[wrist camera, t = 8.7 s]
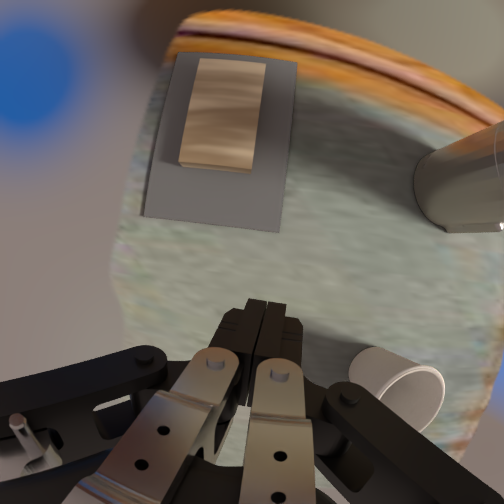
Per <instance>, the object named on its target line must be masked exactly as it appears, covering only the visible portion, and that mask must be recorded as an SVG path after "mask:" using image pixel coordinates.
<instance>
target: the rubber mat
mask: <svg viewBox="0 0 504 504" xmlns="http://www.w3.org/2000/svg"><path fill="white" fill-rule="evenodd" d="M200 58H206V59H223V60H236V61H247V62H256V63H264V64H266V68H265V75H264V82H263V89H262V97H261V104H260V111H259V118H258V126H257V133H256V140H255V148H254V155H253V163H252V170H251V174H246V173H238V172H229V171H220V170H211V169H201V168H190V167H182V165H181V164H180V163H179V162H178V160H179V155H180V149H181V144H182V138H183V133H184V128H185V123H186V118H187V113H188V108H189V104H190V99H191V95H192V90H193V86H194V81H195V77H196V73H197V69H198V65H199V61H200ZM296 73H297V63H296V62H291V61H284V60H278V59H270V58H263V57H254V56H245V55H234V54H220V53H199V52H178V55H177V58H176V62H175V65H174V69H173V73H172V76H171V80H170V84H169V88H168V92H167V96H166V100H165V104H164V108H163V112H162V117H161V121H160V126H159V130H158V135H157V140H156V145H155V150H154V155H153V161H152V166H151V172H150V178H149V184H148V190H147V196H146V203H145V210H144V217H151V218H160V219H169V220H178V221H187V222H195V223H204V224H212V225H221V226H229V227H237V228H245V229H253V230H261V231H268V232H276V233H279V231H280V222H281V214H282V206H283V197H284V189H285V180H286V171H287V162H288V153H289V144H290V134H291V125H292V115H293V105H294V94H295V84H296Z"/></svg>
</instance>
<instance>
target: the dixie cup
mask: <svg viewBox="0 0 504 504" xmlns="http://www.w3.org/2000/svg"><path fill="white" fill-rule="evenodd" d="M349 380H350V382H352V383H356V384H358V385H361V386H362V387H364V388H365V389H366V390H368V391H369V392H370V393H371V394H372V395H374V396H375V397H376V398H377V399H379V400H380V401H381V402H382V403H383V404H385V405H386V406H387V407H388V408H389V409H391V410H392V411H393V412H394V413H396V414H397V415H398V416H399V417H401V418H402V419H403V420H404V421H405V422H407V423H408V424H409V425H410V426H412V427H413V428H414V429H415V430H417V431H418V432H419V433H420V432H421V431H422V430H423V429H425V428H426V427H427V426H428V425H429V424H430V423H431V421H432V420H433V419H434V418H435V416H436V415H437V413H438V411H439V409H440V407H441V405H442V402H443V399H444V394H445V384H444V380H443V377H442V375H441V374H440V373H439V371H437V370H436V369H435V368H433V367H431V366H426V365H420V364H418V363H415V362H413V361H411V360H408V359H406V358H404V357H401V356H399V355H397V354H394V353H392V352H390V351H388V350H385V349H383V348H380V347H371V348H367V349H365V350H363V351H361V352H360V353H359V354H358V355H357V356H356V357H355V358H354V359H353V361H352V363H351V365H350V367H349Z"/></svg>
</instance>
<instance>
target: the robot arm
mask: <svg viewBox="0 0 504 504" xmlns="http://www.w3.org/2000/svg"><path fill="white" fill-rule="evenodd" d="M414 191H415V196H416V199H417V202H418V204H419V206H420V209H421V210H422V212H423V213H424V214H425V216H426V217H427V218H428V219H429V220H430V221H432V222H433V223H435V224H436V225H439V226H442V227H444V228H445V229H446V231H447V232H448V233H483V232H500V231H502V230H503V228H504V121H501V122H499V123H497V124H495V125H492V126H490V127H488V128H486V129H483V130H481V131H479V132H477V133H474V134H472V135H470V136H468V137H465V138H463V139H461V140H459V141H456V142H454V143H452V144H450V145H448V146H445V147H443V148H441V149H438V150H436V151H434V152H432V153H430V154H428V155H426V156H425V157H423V158H422V159H421V161H420V162H419V163H418V165H417V168H416V170H415V175H414ZM266 307H267V308H266ZM285 312H286V304H282V303H276V302H269V301H268V305H267V301H262V300H256V299H250V298H249V299H248V301H247V303H246V306H245V308H244V310H242V309H236V308H233V309H231V310H230V311H228V312H226V313H225V314H224V316H223V318H222V320H221V322H220V324H219V326H218V328H217V330H216V332H215V334H214V336H213V338H212V340H211V342H210V344H209V346H208V348H205V349H202V350H200V351H198V352H197V353H196V354H195V355H194V357H193V358H192V359H191V360H189V361H167V356H166V354H165V353H164V352H163V351H162V350H161V349H159V348H157V347H154V346H149V345H141V346H136V347H132V348H129V349H126V350H122V351H119V352H116V353H112V354H109V355H105V356H102V357H98V358H95V359H91V360H87V361H84V362H80V363H77V364H73V365H69V366H65V367H61V368H58V369H54V370H50V371H46V372H42V373H38V374H34V375H29V376H25V377H21V378H17V379H12V380H8V381H3V382H0V504H336V503H335V501H333V500H332V499H331V498H330V497H329V496H328V495H326V494H325V493H323V492H322V491H320V490H319V489H317V488H315V468H314V465H315V466H316V467H317V469H318V470H319V471H320V472H321V473H322V474H323V475H324V476H325V477H326V479H327V480H328V481H329V482H330V483H331V484H332V485H333V486H334V487H335V488H336V489H337V490H338V491H339V492H340V493H341V494H342V496H344V498H346V500H347V501H348V502H349V503H350V504H504V499H503V498H502V497H501V495H500V494H498V493H497V492H496V491H494V490H493V489H492V488H490V487H489V486H488V485H486V484H485V483H484V482H482V481H481V480H480V479H478V478H477V477H476V476H474V475H473V474H472V473H470V472H469V471H468V470H467V469H465V468H464V467H463V466H461V465H460V464H459V463H457V462H456V461H455V460H454V459H452V458H451V457H450V456H448V455H447V454H446V453H444V452H443V451H442V450H441V449H439V448H438V447H437V446H436V445H434V444H433V443H432V442H430V441H429V440H428V439H427V438H425V437H424V436H423V435H422V434H420V433H419V432H418V431H417V430H415V429H414V428H413V427H412V426H410V425H409V424H408V423H407V422H405V421H404V420H403V419H402V418H401V417H399V416H398V415H397V414H396V413H394V412H393V411H392V410H391V409H389V408H388V407H387V406H386V405H385V404H383V403H382V402H381V401H380V400H379V399H377V398H376V397H375V396H374V395H372V394H371V393H370V392H369V391H368V390H366V389H365V388H364V387H362V386H361V385H358V384H356V383H352V382H338V383H335V384H333V385H331V386H330V387H329V388H328V389H326V388H323V387H321V386H318V385H315V384H314V383H312V382H310V381H309V380H308V379H307V378H305V376H304V375H303V372H302V369H301V357H302V338H303V336H302V335H303V325H302V324H301V322H300V321H299V319H298V318H292V317H285ZM248 393H249V396H248ZM126 395H130V400H128V401H125V402H122V403H119V404H116V405H113V406H110V407H107V408H104V409H101V410H98V411H93V409H94V408H95V407H96V406H97V405H99V404H102V403H105V402H109V401H112V400H115V399H118V398H121V397H124V396H126ZM247 397H248V403H247V406H248V407H251V412H250V418H249V424H248V431H247V438H246V446H245V453H244V459H243V466H241V467H225V466H217V465H215V463H216V461H217V458H218V456H219V454H220V451H221V449H222V447H223V444H224V442H225V440H226V437H227V435H228V432H229V430H230V428H231V425H232V423H233V417H234V415H235V413H236V410H237V407H238V405H242V406H245V404H246V401H247Z"/></svg>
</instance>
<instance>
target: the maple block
mask: <svg viewBox="0 0 504 504" xmlns="http://www.w3.org/2000/svg"><path fill="white" fill-rule="evenodd" d="M265 68H266V64H264V63H256V62H247V61H236V60H223V59H206V58H200V61H199V65H198V69H197V73H196V77H195V81H194V86H193V90H192V95H191V99H190V104H189V108H188V113H187V118H186V123H185V128H184V133H183V138H182V144H181V149H180V155H179V160H178V162H179V163H180V164H181V165H182V167H190V168H201V169H211V170H220V171H229V172H238V173H246V174H251V170H252V163H253V155H254V148H255V140H256V133H257V126H258V118H259V111H260V104H261V97H262V89H263V82H264V75H265Z"/></svg>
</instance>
